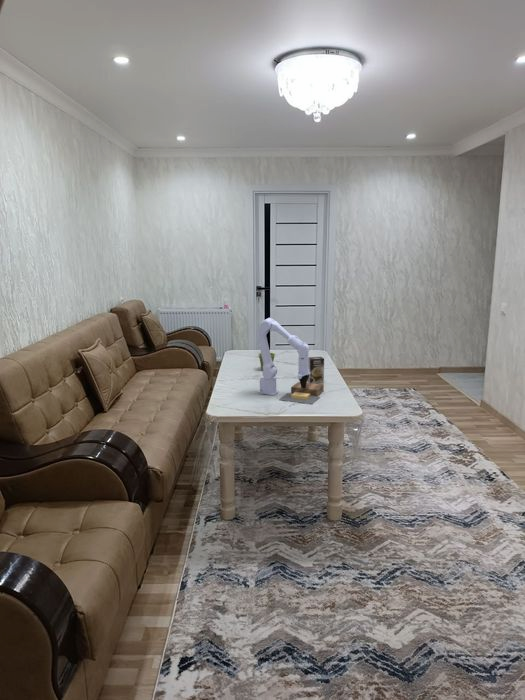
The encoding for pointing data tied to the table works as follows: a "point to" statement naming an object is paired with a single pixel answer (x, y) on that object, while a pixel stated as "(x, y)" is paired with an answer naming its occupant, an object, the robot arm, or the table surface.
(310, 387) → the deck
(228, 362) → the table surface
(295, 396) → the tile
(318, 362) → the coffee box
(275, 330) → the robot arm
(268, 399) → the table surface
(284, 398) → the mat
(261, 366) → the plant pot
